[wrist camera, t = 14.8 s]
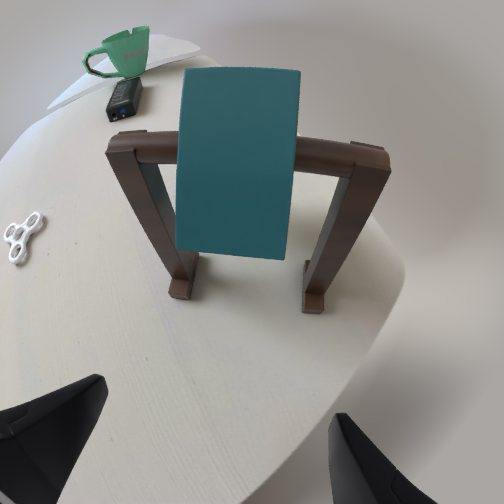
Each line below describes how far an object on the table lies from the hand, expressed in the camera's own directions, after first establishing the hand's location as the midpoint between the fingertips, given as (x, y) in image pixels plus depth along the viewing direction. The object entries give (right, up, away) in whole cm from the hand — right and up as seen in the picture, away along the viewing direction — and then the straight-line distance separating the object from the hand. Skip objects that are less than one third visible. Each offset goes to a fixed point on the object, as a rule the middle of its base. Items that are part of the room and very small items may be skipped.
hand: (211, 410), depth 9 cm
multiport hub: (-19, +30, +28) cm, 46 cm away
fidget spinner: (-25, +7, +15) cm, 30 cm away
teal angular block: (+2, +13, +12) cm, 18 cm away
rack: (+1, +3, +13) cm, 13 cm away
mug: (-25, +41, +35) cm, 60 cm away
